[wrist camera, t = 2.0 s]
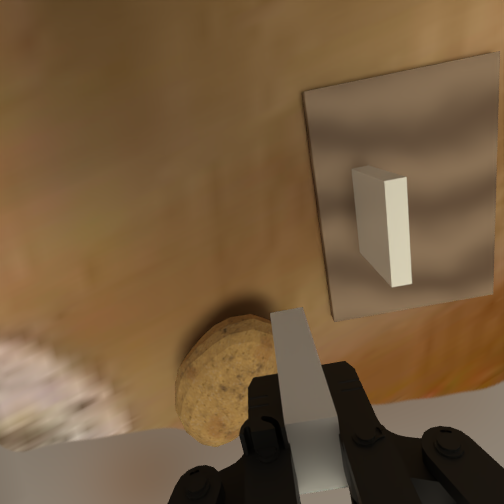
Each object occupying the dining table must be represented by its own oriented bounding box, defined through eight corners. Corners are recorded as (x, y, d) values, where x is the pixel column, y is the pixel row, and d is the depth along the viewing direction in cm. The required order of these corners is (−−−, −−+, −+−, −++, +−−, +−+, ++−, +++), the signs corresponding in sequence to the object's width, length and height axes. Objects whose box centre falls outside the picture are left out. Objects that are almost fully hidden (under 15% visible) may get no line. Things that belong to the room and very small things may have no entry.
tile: (351, 168, 32) (384, 181, 24) (370, 165, 32) (408, 176, 24) (359, 252, 35) (391, 287, 27) (377, 249, 34) (414, 283, 27)
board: (301, 92, 31) (303, 91, 30) (490, 54, 30) (499, 51, 29) (331, 316, 38) (334, 321, 37) (485, 289, 37) (493, 294, 36)
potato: (305, 318, 38) (320, 366, 31) (241, 412, 42) (240, 475, 34) (224, 277, 36) (218, 316, 29) (164, 379, 40) (146, 436, 33)
